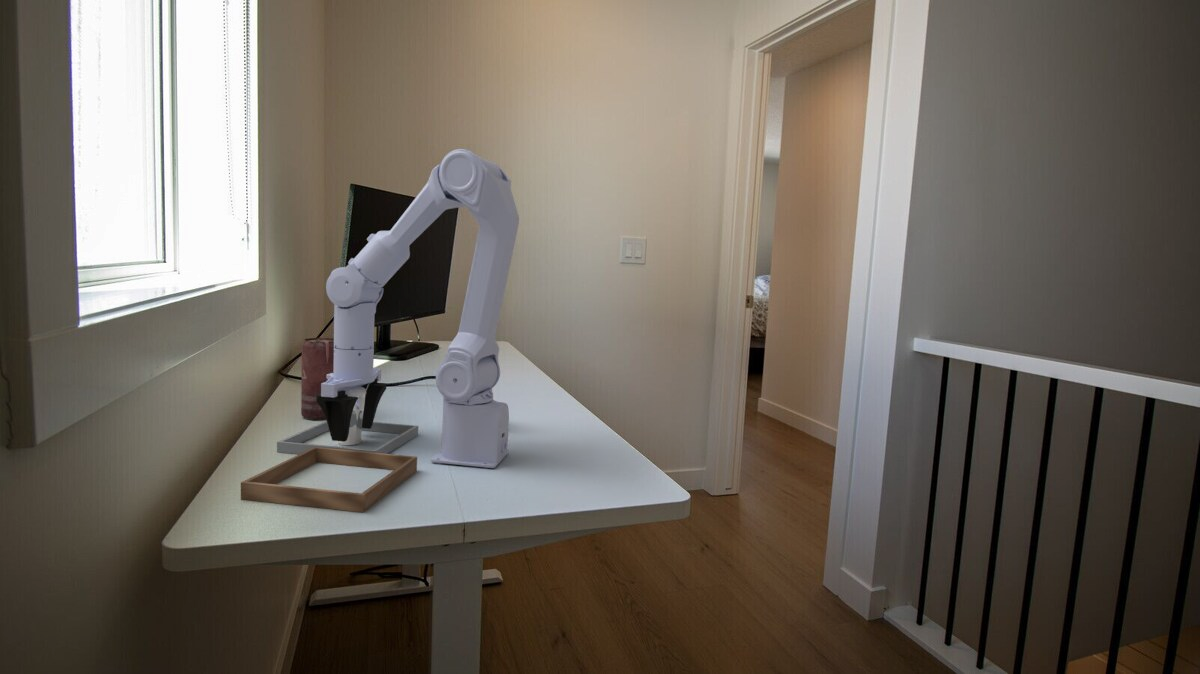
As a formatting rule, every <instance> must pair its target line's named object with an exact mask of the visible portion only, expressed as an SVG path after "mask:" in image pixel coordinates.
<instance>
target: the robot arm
mask: <svg viewBox="0 0 1200 674" xmlns="http://www.w3.org/2000/svg"><path fill="white" fill-rule="evenodd" d="M511 186H512V180H511V179H510V178H509V176H508V175H507V174H506V173H505V171H504V170H503V169H502V168H501V167H500V166H499V165H498V164H497V163H495V162H494V161H491V160H488V159H485V158H483V157H481V156H478V155H476V153H474V152H473V151H470V150H468V149H464V148H457V149H454V150H451V151H449V152H448V153H447V154H445V156H444V157H443V159H442V161H440V164H438V165H436V166H435V167H434V168H432V170H431V172H430V175H429V178H428V180H427V182H426V184H425V185H424V186H423V187H422V189H421V190H420V191H419V192H418V194H417V196H416V197H415V198H414V199H413V200H412V202H410V204H409V206H408V207H407V208H406V210H405V211H404V212H403V213H402V215H401V216H400V217H399V219H398V220H396V221H397V222H396V223H394V224H393V226H392V228H391V229H390V230H379V231H377V232H376V233H371V234H369V236H368V237H367V238H366V240H367V244H366V245H365V246H364V247H363V248H362V249H361V250H360V251H359V252H358V254H357V255H356V256H355V257H354V258H353V257H351V258H350V259H349V261H348V262H347V263H348V264H347V265H346V266H343V267H338V268H335V269H333V270H332V271H331V273H330V275H329V276H328V278H327V280H326V283H325V289H326V290H325V291H326V295H327V297H328V299H329V301H331V303H332V304H333V310H334V311H333V339H334V370H333V373H330V374H327V379H328V380H327V381H326V382H324V383H321V393H319V394H317V395H316V401H317V403H318V404H319V405H320V407H321V409H322V411H323V413H324V415H325V417H326V420H325V421H327V423H328V427H329V430H328V432H329V434H330V437H331V441H335V442H338V441H343V442H344V441H347V439H348V435H349V428H350V420H351V415H352V411H353V408H354V406H355V403H356V401H357V399H358V397H351V396H347V394H345V391H348V390H350V388H354V387H355V386H361V387H363V388H364V389H365V390H366V388H367V386H368V384H369V383H370V384H369V387H368V389H367V391H366V399H365V407H364V413H363V423H362V428H366V429H370V428H371V427H372V424H373V422H375V421H374V419H375V417H376V413H377V409H378V407H379V403H380V401H381V399H382V396H383V395H384V393H385V392H386V390H387V383H385V382H380V381H382V369H381V368H374V354H375V352H374V351H375V348H374V347H375V346H374V345H375V314H376V313H377V305H378V303H379V302H380V300H381V299H382V297H383V295H384V288H383V287H384V286H385V285H386V284H387V283H388V281H389V280H391V278H393V276H394V275H395V274H396V273H397V271H399V270H400V269H401V267H403V265H404V264H406V262H407V261H408V260H409V259H410V255H411V251H410V245H412V243H414V241H416V239H418V238H419V237H420V236H421V235H422V234H423V233H424V231H426V230H427V229H428V228H429V227H430V226H431V225H432V224H433V223H434V222H435V221H436V220H437V219H438V218H439V217H440V216H441V215H442V214H443V213H444V212H445V211H446V210H451V209H457V208H464V207H466V208H467V209H468V211H469V212H470V213H471V215H472V217H473V218H474V219H475V220H476V222H477V223H478V225H479V226H478V227H479V228H478V232H477V237H476V242H475V246H474V253H473V257H472V263H471V268H470V273H469V277H468V282H467V288H466V293H465V298H464V301H463V307H462V313H461V316H460V323H459V327H458V332H457V334H456V335H455V337H454V338H453V340H452V341H451V343H450V344H449V346H448V347H447V351H446V356H445V357H444V360H443V361H442V362H441V364H440V365H439V366H438V368H437V370H436V374H435V385H436V387H437V389H438V392H439V393H440V394H441V395H442V398H443V399H442V400H443V401H442V427H441V429H442V430H441V431H442V433H441V451H440V452H438V453H437V454H436V455H435V456H433V457H432V458H431V459H430V461H431V462H432V463H436V464H437V463H438V464H447V465H459V466H468V467H478V468H479V467H480V468H489V469H494V468H496V467H497V466H498V464H499V463H501V462H502V460H503V459H504V458H506V456H507V455H508V454H509V449H508V446H509V445H508V444H509V443H508V442H509V425H510V424H509V422H510V421H509V420H510V419H509V418H510V412H509V409H510V408H509V405H508V403H506V402H501V401H497V400H494V392H493V388H494V387H495V386H496V385H497V384H498V382H499V380H500V377H501V367H500V364H499V353H500V347H499V344H498V342H497V340H496V334H497V329H498V325H499V320H500V315H501V310H502V306H503V301H504V297H505V291H506V286H507V282H508V277H509V271H510V267H511V263H512V259H513V258H512V257H513V253H514V249H515V244H516V239H517V234H518V228H519V224H520V216H519V212H518V209H517V205H516V201H515V199H514V196H513V193H512V189H511Z"/></svg>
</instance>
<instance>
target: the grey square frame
mask: <svg viewBox="0 0 1200 674" xmlns="http://www.w3.org/2000/svg"><path fill="white" fill-rule="evenodd" d="M363 431H366V432H373V433H375V432H376V433H387V434H399V435H397V436H395V437H393V438H392V439H390V440H389V441H387V442H385V443H384V444H382V445H381V446H379V447H376V448H375V449H366V448H365V449H364V448H357V447H356V448H354V447H345V446H333V445H323V444H311V443H304V442H306V441H309V440H310V439H313V438H315V437H317V436H319V435H322V434H324V433H326V432H329V427H328V423H327V420H324V421H323V422H321V423H319V424H316V425H314V426H312V427H310V428H309V427H308V428H307V429H304V430H302V431H299V432H298V433H294V434H291V435H290V436H288V437H286V438H283V439H281V440H279V441H276V452H277V453H282V454H283V453H284V454H291V455H294V454H295V455H299V454H301V453H303V452H305V451H307V450H309V449H311V448H313V447H321V448H332V449H342V450H352V451H363V452H373V453H384V454H391V452H394V451H395V450H396V449H398V448H399V447H401V446H402V445H404V444H406V443H408V442H409V441H410V440H412V439H413V438H415V437H417V436H419V425H414V424H413V425H412V424H403V423H401V424H400V423H390V422H380V421H379V422H378V421H373V424H372V427H371V428H370V429H366V428H362V432H363Z"/></svg>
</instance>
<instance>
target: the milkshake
mask: <svg viewBox="0 0 1200 674" xmlns="http://www.w3.org/2000/svg"><path fill="white" fill-rule="evenodd" d="M369 384H370V383H369ZM369 384H368V386H367V388H366V390H365V389H364V388H363V387H361V386H355V387H354V388H350V390H348V391H345V394H347V396H351V397H358V399H357V401H356V403H355V406H354V408H353V411H352V415H351V420H350V428H349V435H348V439H347V441H344V442H343V441H337V442H338V444H339V445H341V446H356V445H358V444H361V441H362V433H363V430H362V423H363V413H364V407H365V399H366V391H367V389H368V387H369Z"/></svg>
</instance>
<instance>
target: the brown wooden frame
mask: <svg viewBox="0 0 1200 674" xmlns="http://www.w3.org/2000/svg"><path fill="white" fill-rule="evenodd" d="M315 463H321V464H331V465H342V466H349V467H350V466H351V467H360V468H371V469H373V468H374V469H382V470H390V471H391V470H392V471H391V472H390V473H388V474H387V475H385V476H383V478H382V479H380V480H378V481H377V482H375V483H373V485H371V486H370V487H369V488H367V489H365V490H364V491H362V492H351V491H344V490H343V491H341V490H332V489H322V488H314V487H313V488H312V487H303V486H293V485H284V484H277V483H279V482H281V481H283V480H284V479H286V478H288V477H290V476H293V475H295V474H296V473H297V472H300V471H302V470H303V469H306V468H307V467H310V466H312V465H313V464H315ZM417 471H418V456H416V455H415V456H414V455H402V454H394V453H393V454H392V453H388V454H384V453H373V452H363V451H352V450H342V449H332V448H321V447H313V448H311V449H309V450H307V451H305V452H303V453H301V454H296V455H295V456H293V457H291V458H289V459H287V460H284V461H282V462H280V463H278V464H277V465H275V466H272V467H270V468H268V469H265V470H264V471H262V472H260V473H257V474H256V475H254V476H251V477H250V478H247V479H245V480H243V481H240V500H243V501H244V500H246V501H253V502H254V501H256V502H265V503H273V504H274V503H275V504H280V505H281V504H283V505H290V506H291V505H292V506H299V507H300V506H301V507H310V508H311V507H312V508H319V509H329V510H330V509H331V510H340V511H347V512H355V513H357V512H358V513H364V512H365V511H367V510H368V509H370V508H371V507H372V506H373V505H374V504H376V503H377V502H378V501H380V500H381V499H382V498H383V497H385V496H386V495H388V493H390V492H391V491H393V490H394V489H395V488H396V487H398V486H399V485H401V484H402V483H403V482H404V481H406V480H407V479H408V478H409V477H411V476H412V475H414V473H416V472H417Z"/></svg>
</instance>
